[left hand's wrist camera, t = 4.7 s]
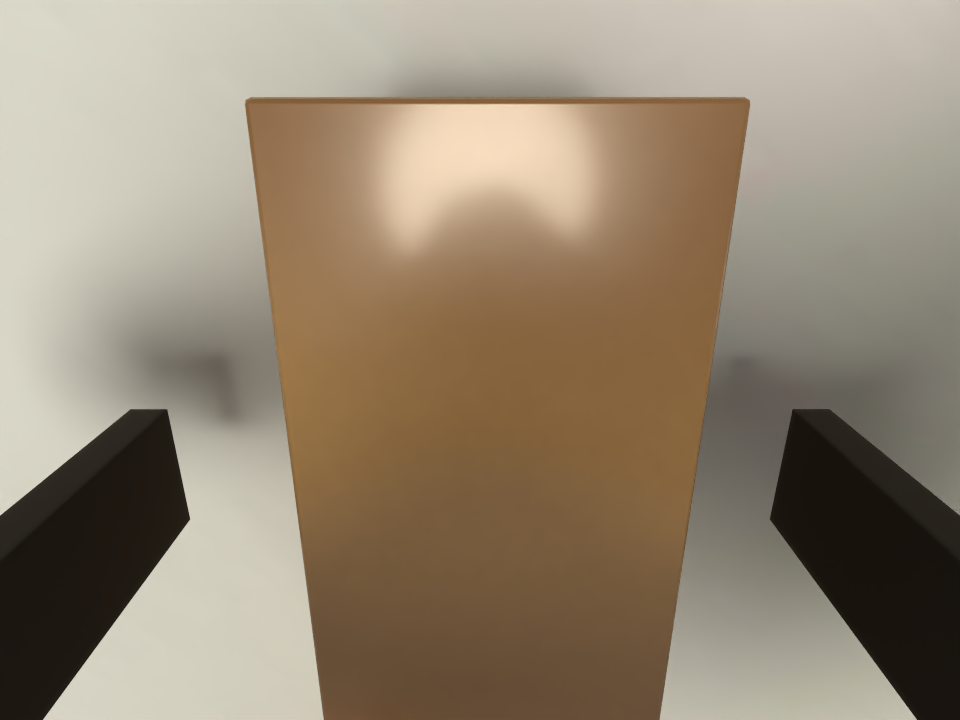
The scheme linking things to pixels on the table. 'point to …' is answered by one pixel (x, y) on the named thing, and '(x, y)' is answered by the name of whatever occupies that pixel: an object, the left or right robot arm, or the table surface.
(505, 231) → the bar
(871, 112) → the table surface
